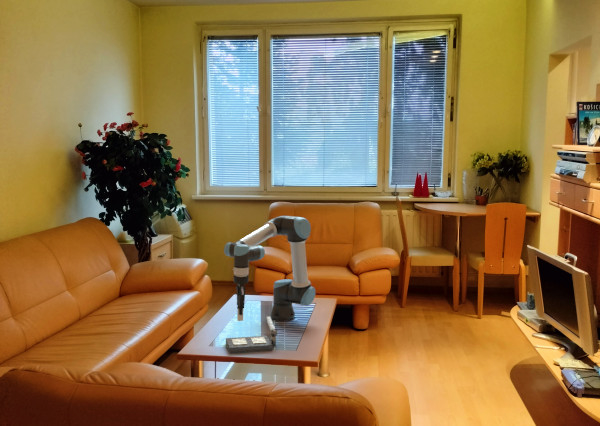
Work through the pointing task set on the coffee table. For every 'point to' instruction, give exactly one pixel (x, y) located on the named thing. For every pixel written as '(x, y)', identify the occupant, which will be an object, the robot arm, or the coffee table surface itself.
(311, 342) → the coffee table surface
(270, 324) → the ball-tipped flat stick
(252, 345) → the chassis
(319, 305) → the coffee table surface
